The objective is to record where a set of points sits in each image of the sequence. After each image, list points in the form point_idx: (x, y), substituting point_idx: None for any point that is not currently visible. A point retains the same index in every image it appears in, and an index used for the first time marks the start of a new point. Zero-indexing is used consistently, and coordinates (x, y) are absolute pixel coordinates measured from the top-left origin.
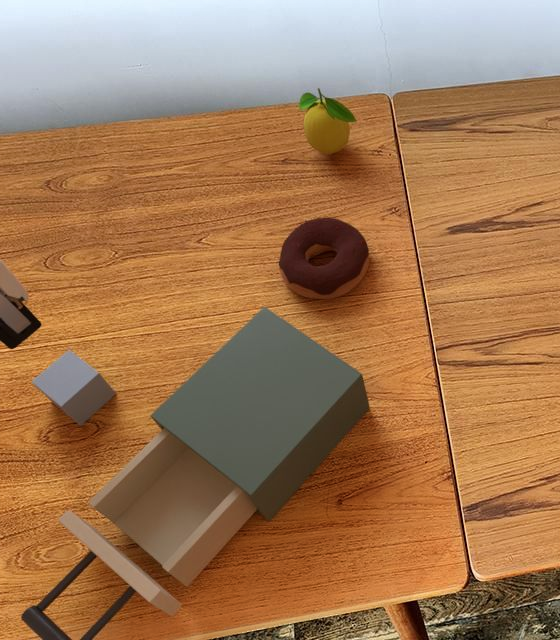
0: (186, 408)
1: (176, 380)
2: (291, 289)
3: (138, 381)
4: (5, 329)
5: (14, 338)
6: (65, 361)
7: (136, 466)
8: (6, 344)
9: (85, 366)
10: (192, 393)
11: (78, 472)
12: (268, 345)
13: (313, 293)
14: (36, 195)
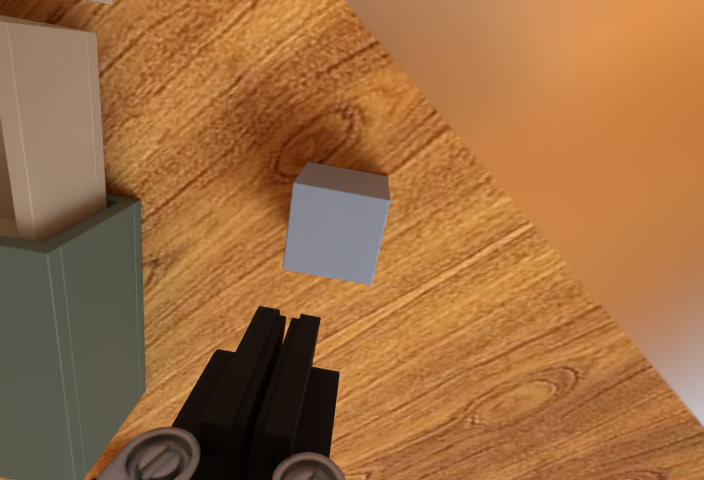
0: (5, 294)
1: (231, 291)
2: None
3: (282, 266)
4: (179, 414)
5: (214, 361)
6: (358, 263)
7: (5, 145)
8: (251, 324)
9: (316, 270)
10: (25, 322)
11: (246, 86)
12: (4, 441)
13: None
14: (668, 456)
